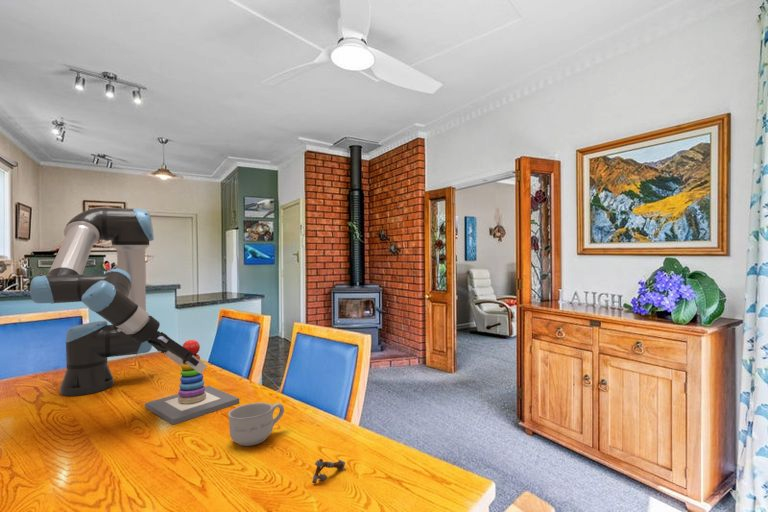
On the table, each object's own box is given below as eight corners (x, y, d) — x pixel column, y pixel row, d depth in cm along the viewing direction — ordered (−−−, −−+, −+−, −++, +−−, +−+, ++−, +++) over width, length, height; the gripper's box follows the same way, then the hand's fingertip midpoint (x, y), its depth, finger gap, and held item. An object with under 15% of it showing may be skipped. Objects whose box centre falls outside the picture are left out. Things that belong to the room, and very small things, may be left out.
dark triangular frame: (307, 481, 78) (313, 457, 80) (333, 480, 84) (340, 458, 85) (312, 484, 77) (319, 460, 78) (339, 484, 83) (345, 461, 84)
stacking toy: (211, 395, 125) (210, 337, 125) (196, 405, 117) (195, 343, 117) (188, 395, 126) (187, 337, 126) (172, 404, 118) (171, 343, 118)
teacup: (231, 455, 90) (230, 421, 90) (226, 436, 100) (226, 405, 100) (290, 441, 97) (290, 409, 97) (280, 424, 106) (280, 395, 106)
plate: (145, 407, 120) (145, 402, 120) (208, 389, 135) (208, 384, 135) (172, 424, 107) (172, 418, 107) (239, 403, 123) (239, 397, 123)
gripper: (112, 330, 115) (166, 368, 127) (145, 342, 99) (203, 384, 111) (132, 310, 119) (183, 349, 131) (167, 318, 103) (221, 362, 115)
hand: (193, 365), depth 121 cm, fingers open, 13 cm apart
